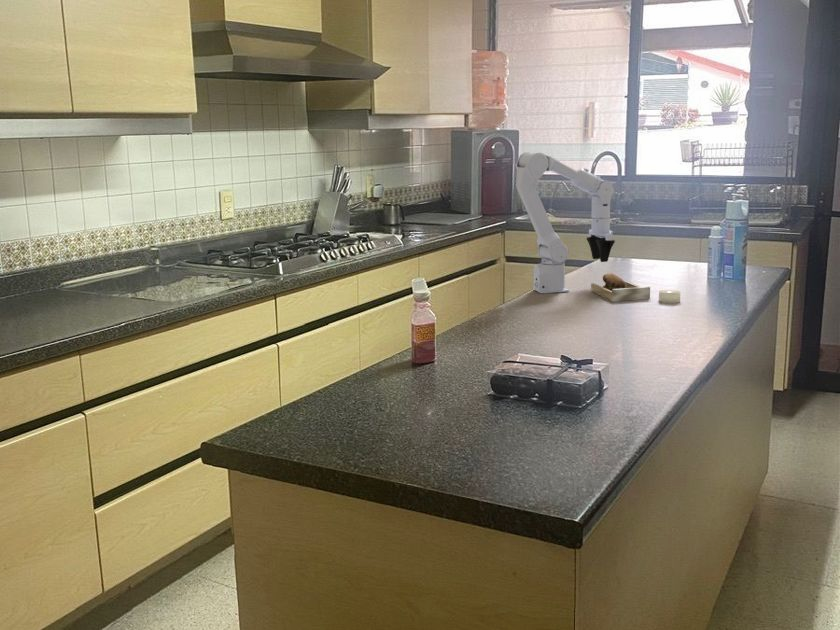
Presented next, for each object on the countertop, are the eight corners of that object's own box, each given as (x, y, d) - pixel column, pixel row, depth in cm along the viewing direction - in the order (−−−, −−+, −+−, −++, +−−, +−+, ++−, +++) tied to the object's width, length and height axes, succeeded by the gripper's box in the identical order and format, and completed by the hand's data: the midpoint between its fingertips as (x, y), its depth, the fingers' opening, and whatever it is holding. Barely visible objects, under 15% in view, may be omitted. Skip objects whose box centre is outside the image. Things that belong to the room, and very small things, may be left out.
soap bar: (664, 304, 246) (664, 294, 245) (655, 300, 251) (655, 290, 251) (683, 302, 247) (684, 292, 246) (674, 299, 252) (674, 289, 252)
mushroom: (593, 283, 263) (605, 266, 262) (599, 288, 270) (611, 272, 269) (613, 297, 259) (626, 281, 258) (619, 302, 266) (631, 286, 265)
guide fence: (613, 301, 251) (613, 289, 250) (591, 291, 267) (591, 280, 267) (649, 298, 253) (650, 287, 252) (625, 288, 269) (626, 277, 269)
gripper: (622, 219, 264) (621, 262, 267) (603, 215, 278) (602, 256, 281) (600, 220, 263) (600, 264, 266) (583, 216, 277) (582, 257, 280)
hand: (600, 260), depth 273 cm, fingers open, 6 cm apart
